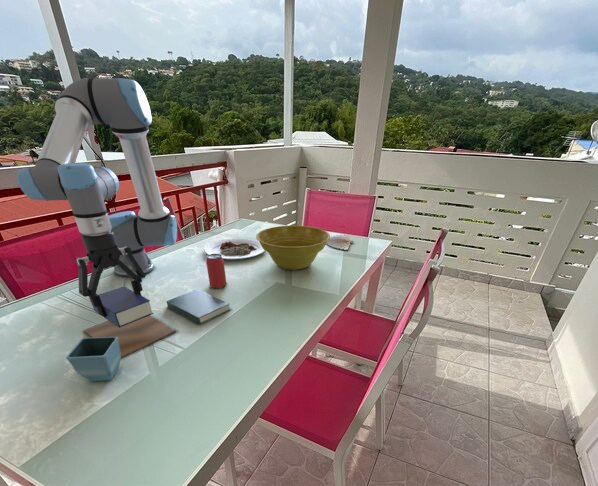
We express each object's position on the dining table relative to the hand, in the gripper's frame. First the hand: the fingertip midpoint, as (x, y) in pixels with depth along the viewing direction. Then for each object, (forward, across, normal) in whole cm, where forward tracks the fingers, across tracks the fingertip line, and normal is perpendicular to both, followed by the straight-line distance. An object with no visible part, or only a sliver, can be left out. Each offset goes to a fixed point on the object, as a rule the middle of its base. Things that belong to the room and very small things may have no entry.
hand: (122, 308), depth 98 cm
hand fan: (+8, +119, 0) cm, 119 cm away
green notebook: (+8, +23, -4) cm, 25 cm away
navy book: (+1, 0, 0) cm, 1 cm away
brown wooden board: (+8, 0, 0) cm, 8 cm away
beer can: (+8, +40, +6) cm, 41 cm away
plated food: (+8, +72, +31) cm, 79 cm away
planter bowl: (+8, +77, -2) cm, 78 cm away
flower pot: (+8, -15, -15) cm, 23 cm away
